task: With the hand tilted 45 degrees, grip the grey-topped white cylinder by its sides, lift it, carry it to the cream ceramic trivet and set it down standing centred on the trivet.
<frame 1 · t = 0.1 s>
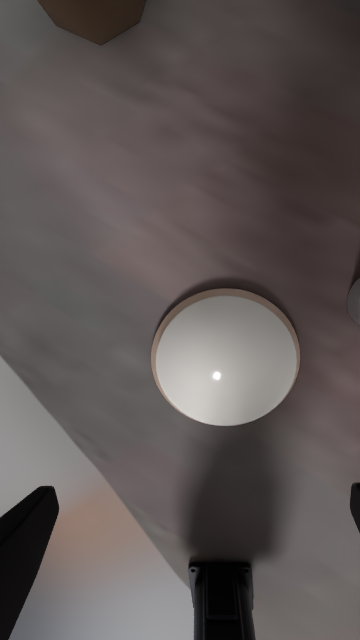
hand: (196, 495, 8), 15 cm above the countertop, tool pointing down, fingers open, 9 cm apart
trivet: (223, 359, 23), on the countertop
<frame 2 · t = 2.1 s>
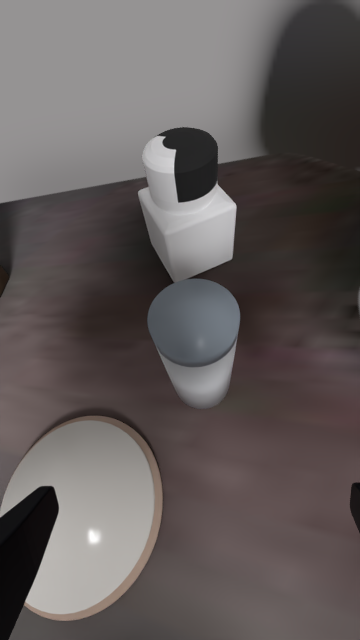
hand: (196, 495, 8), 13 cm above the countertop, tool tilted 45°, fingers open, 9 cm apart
grey-topped white cylinder: (201, 380, 23), on the countertop
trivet: (82, 501, 20), on the countertop
medicine bottle: (190, 252, 31), on the countertop
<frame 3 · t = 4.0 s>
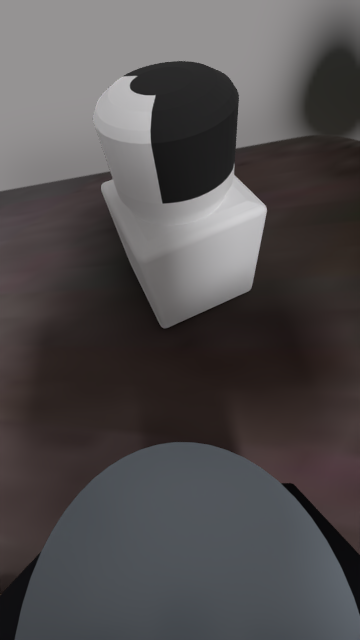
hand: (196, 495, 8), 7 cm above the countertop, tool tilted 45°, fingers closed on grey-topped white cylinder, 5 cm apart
grey-topped white cylinder: (205, 520, 13), on the countertop, touching gripper
medicine bottle: (187, 278, 21), on the countertop
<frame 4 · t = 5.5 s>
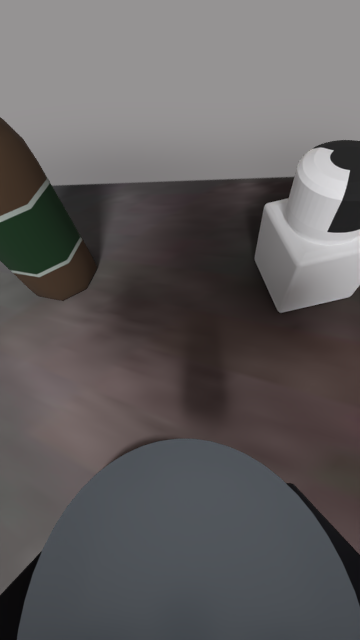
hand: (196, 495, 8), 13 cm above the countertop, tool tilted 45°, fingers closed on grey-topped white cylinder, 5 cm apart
beer bottle: (66, 275, 31), on the countertop
grey-topped white cylinder: (206, 519, 13), point 7 cm above the countertop, touching gripper
medicine bottle: (298, 278, 27), on the countertop
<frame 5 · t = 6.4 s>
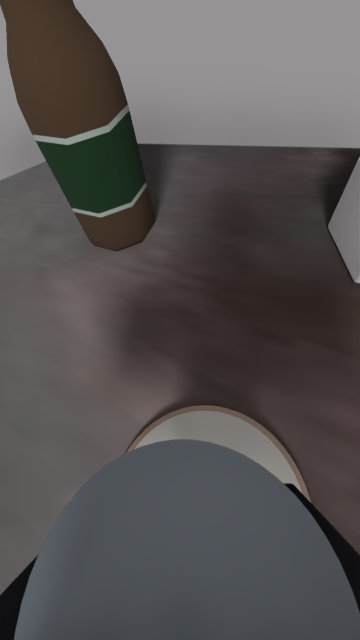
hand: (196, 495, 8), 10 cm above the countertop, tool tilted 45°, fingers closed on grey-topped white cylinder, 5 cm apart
beer bottle: (121, 228, 30), on the countertop
grey-topped white cylinder: (205, 519, 13), point 4 cm above the countertop, touching gripper
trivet: (207, 508, 16), on the countertop
when the fingers open (9 cm above the countertop, at t = 7.0 s): grey-topped white cylinder drops 1 cm, resting on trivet.
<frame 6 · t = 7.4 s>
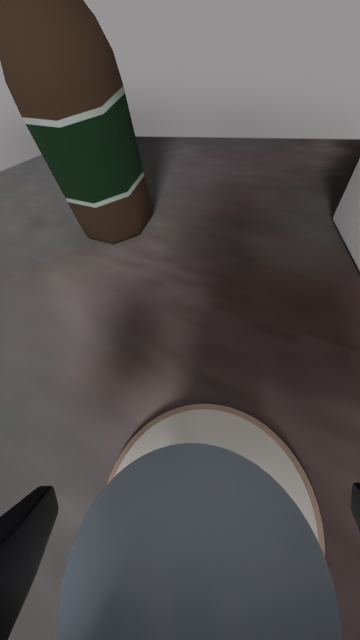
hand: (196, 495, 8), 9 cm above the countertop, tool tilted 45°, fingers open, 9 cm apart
beer bottle: (118, 221, 29), on the countertop
grey-topped white cylinder: (206, 518, 14), point 1 cm above the countertop, touching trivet
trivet: (206, 514, 15), on the countertop
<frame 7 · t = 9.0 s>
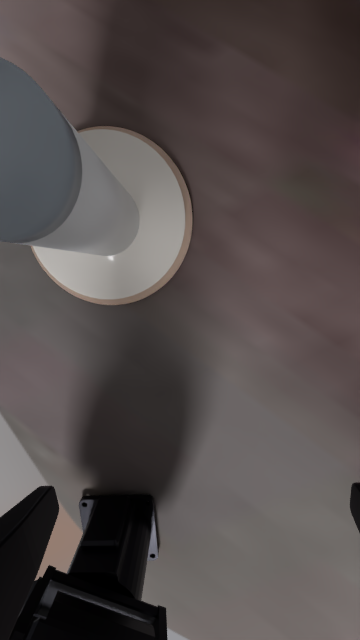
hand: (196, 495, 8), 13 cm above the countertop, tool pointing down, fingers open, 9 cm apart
grey-topped white cylinder: (104, 219, 18), point 1 cm above the countertop, touching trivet
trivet: (109, 222, 20), on the countertop
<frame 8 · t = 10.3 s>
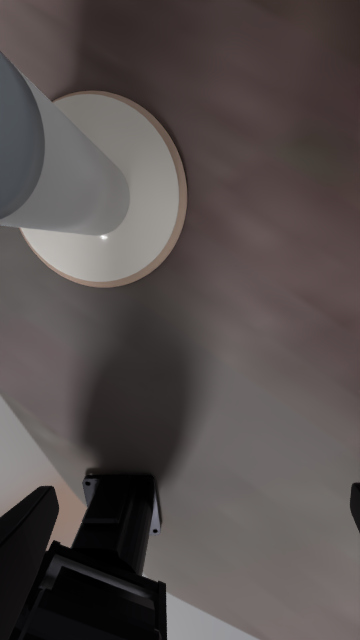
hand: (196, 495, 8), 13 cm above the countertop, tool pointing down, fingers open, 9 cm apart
grey-topped white cylinder: (92, 196, 17), point 1 cm above the countertop, touching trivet
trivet: (99, 198, 18), on the countertop
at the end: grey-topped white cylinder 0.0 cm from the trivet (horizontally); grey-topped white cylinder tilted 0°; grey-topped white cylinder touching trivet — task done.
